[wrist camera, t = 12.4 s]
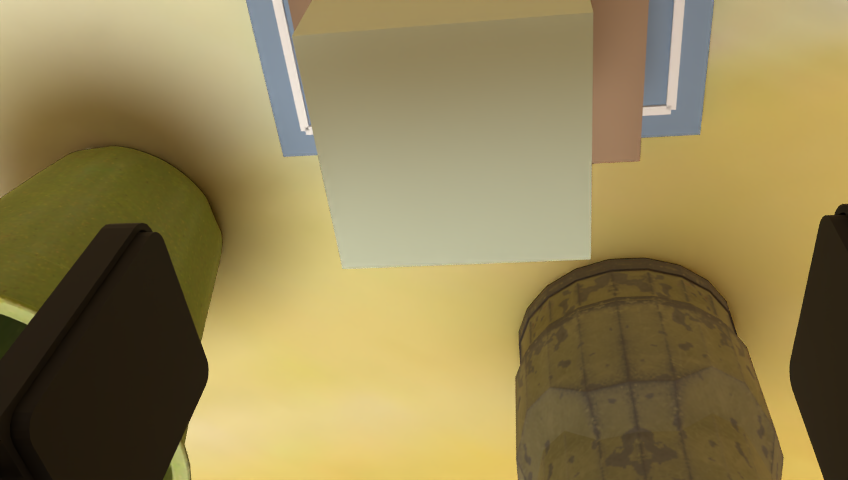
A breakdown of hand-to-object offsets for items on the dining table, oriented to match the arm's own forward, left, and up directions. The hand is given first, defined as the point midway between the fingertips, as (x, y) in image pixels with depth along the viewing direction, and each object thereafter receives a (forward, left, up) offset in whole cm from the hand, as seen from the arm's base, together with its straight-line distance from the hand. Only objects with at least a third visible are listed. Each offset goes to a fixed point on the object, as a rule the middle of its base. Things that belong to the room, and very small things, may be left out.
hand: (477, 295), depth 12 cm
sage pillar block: (+1, 0, -11) cm, 11 cm away
